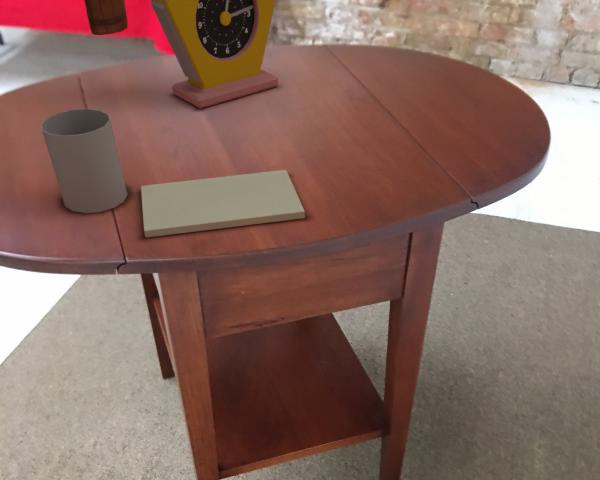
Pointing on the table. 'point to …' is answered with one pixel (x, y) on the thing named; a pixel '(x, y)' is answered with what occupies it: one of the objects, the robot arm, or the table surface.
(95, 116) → the cup
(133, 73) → the table surface
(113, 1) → the wooden figurine
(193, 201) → the mat
